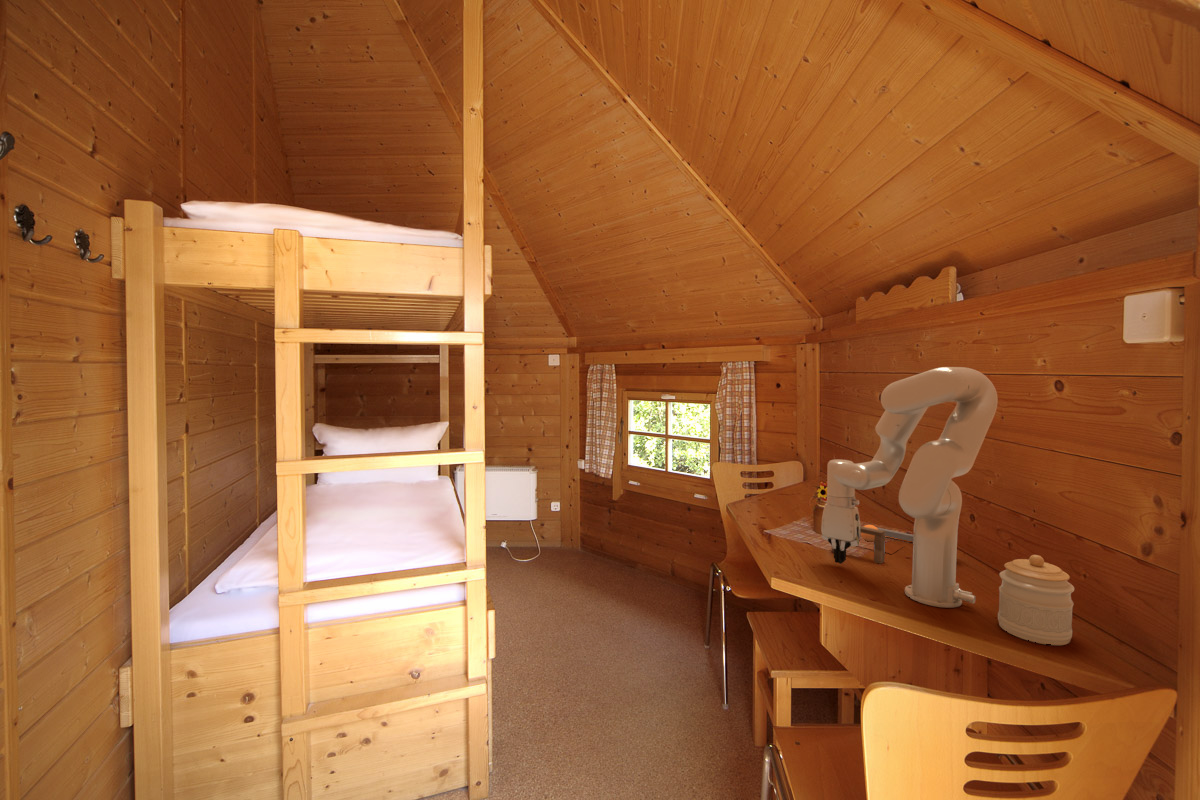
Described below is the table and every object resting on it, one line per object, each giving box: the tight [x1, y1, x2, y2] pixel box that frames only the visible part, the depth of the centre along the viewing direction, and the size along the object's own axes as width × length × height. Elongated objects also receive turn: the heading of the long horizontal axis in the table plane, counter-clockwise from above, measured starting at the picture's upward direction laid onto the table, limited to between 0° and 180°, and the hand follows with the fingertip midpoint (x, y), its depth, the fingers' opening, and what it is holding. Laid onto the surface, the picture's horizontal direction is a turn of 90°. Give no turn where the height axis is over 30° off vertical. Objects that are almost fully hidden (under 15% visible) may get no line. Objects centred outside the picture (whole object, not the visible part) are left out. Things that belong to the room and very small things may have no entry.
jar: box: [997, 554, 1075, 646], centre depth 119 cm, size 13×13×18 cm
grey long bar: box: [877, 527, 914, 542], centre depth 189 cm, size 16×2×2 cm, turn 43°
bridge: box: [831, 525, 886, 565], centre depth 168 cm, size 3×15×10 cm, turn 43°
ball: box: [860, 524, 879, 542], centre depth 184 cm, size 6×6×6 cm
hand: (839, 561), depth 159 cm, fingers closed
